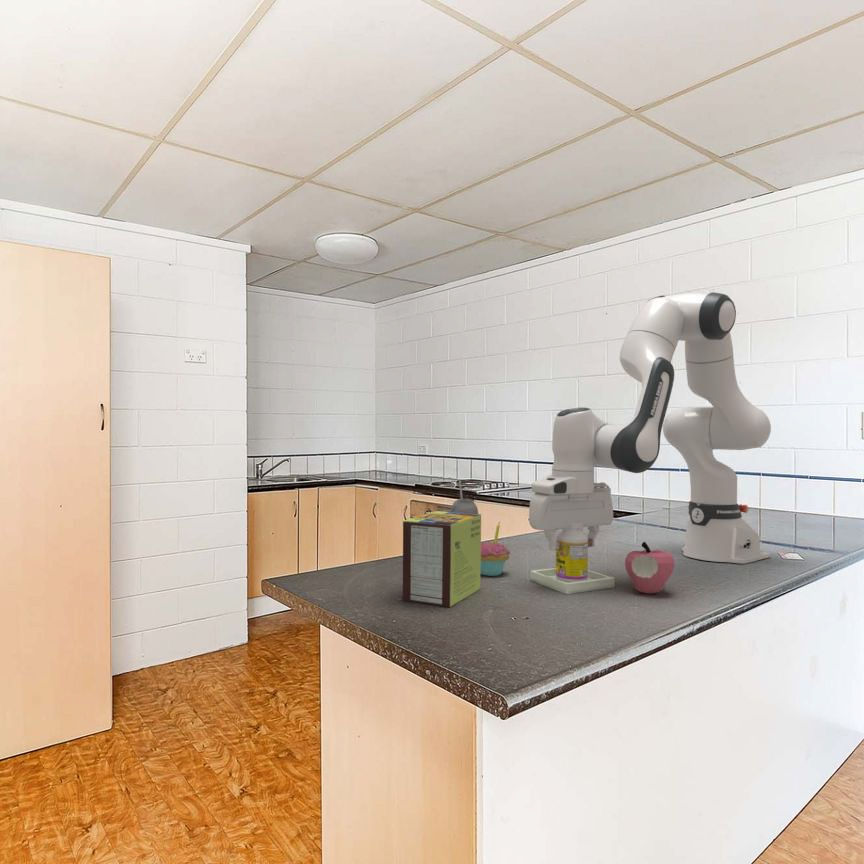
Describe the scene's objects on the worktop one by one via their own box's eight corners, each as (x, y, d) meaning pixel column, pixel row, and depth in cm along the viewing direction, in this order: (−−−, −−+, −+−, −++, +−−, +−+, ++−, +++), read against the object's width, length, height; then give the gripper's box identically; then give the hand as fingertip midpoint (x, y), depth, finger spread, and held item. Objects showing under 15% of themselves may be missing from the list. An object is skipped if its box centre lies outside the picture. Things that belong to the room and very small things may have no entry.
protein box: (481, 589, 131) (482, 513, 130) (450, 608, 117) (451, 524, 117) (435, 582, 135) (436, 510, 135) (400, 600, 121) (401, 519, 121)
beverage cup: (476, 564, 153) (477, 481, 152) (446, 563, 154) (447, 481, 154) (480, 558, 160) (481, 479, 159) (451, 557, 161) (452, 478, 161)
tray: (575, 574, 144) (575, 565, 144) (614, 587, 133) (614, 578, 133) (529, 580, 138) (529, 570, 138) (566, 594, 127) (566, 584, 127)
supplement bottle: (552, 576, 139) (553, 518, 138) (581, 576, 139) (582, 518, 139) (560, 584, 132) (561, 523, 132) (591, 584, 132) (592, 523, 132)
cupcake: (514, 571, 146) (514, 519, 146) (502, 579, 138) (502, 524, 138) (479, 567, 150) (479, 517, 149) (465, 575, 142) (466, 522, 142)
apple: (618, 592, 129) (619, 543, 128) (632, 584, 136) (632, 537, 136) (667, 600, 123) (668, 549, 123) (678, 591, 130) (679, 543, 130)
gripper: (600, 480, 143) (599, 542, 143) (525, 483, 133) (524, 549, 134) (620, 483, 137) (619, 547, 137) (543, 486, 128) (542, 555, 128)
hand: (571, 548), depth 135 cm, fingers open, 8 cm apart
